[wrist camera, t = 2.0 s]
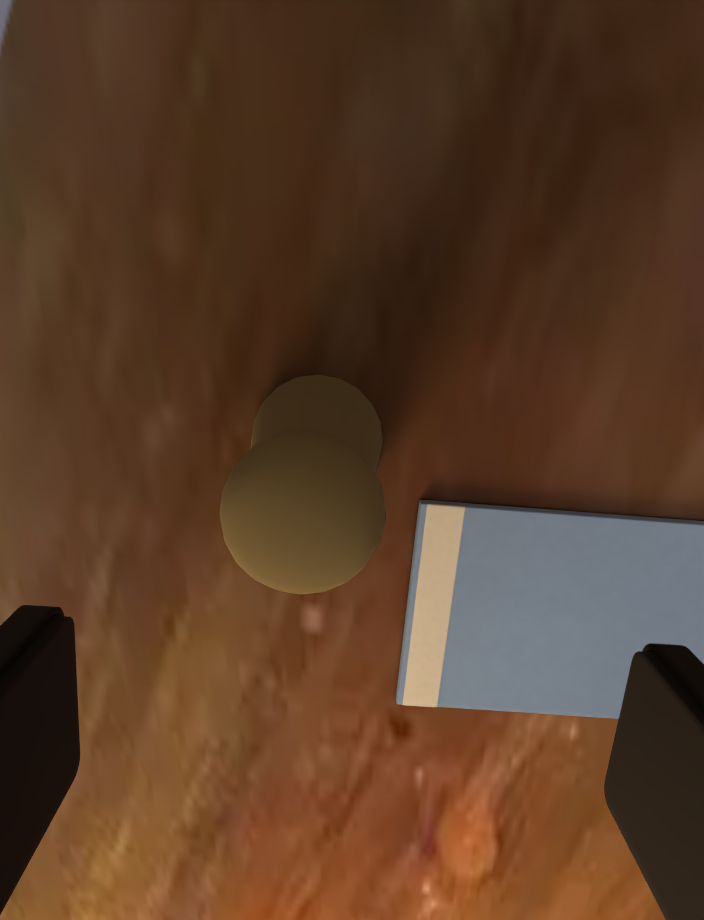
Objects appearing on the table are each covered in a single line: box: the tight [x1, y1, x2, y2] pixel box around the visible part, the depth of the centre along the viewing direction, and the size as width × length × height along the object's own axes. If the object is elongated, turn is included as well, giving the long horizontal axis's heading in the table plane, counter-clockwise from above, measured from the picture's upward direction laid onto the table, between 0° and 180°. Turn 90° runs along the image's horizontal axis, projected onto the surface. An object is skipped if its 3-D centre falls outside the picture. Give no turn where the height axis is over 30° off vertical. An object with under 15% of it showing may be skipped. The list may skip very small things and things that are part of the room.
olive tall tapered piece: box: [220, 374, 386, 594], centre depth 23 cm, size 6×6×11 cm
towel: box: [396, 500, 704, 719], centre depth 31 cm, size 11×20×1 cm, turn 85°
